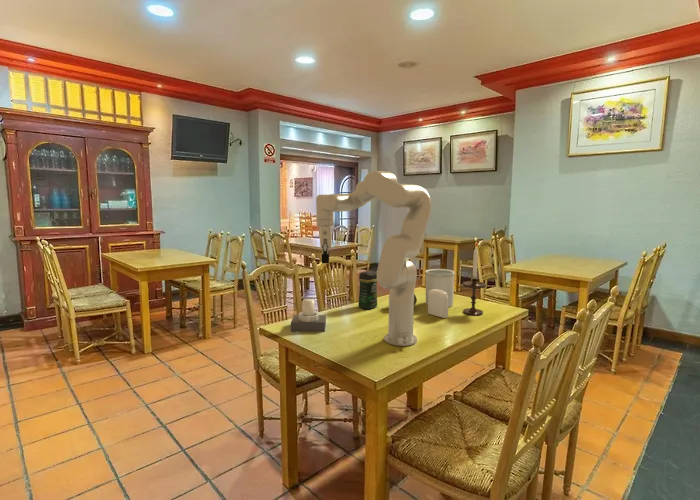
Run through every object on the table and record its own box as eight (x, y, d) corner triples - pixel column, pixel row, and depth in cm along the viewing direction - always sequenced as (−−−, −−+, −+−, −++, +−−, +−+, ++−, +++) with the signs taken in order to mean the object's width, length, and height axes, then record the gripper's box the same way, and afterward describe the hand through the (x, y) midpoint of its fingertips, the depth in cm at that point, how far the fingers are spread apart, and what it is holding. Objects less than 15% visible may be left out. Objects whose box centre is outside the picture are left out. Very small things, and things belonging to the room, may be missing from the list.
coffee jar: (368, 310, 191) (369, 273, 189) (356, 307, 196) (356, 271, 194) (380, 306, 199) (380, 270, 196) (367, 303, 204) (367, 268, 201)
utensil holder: (419, 305, 201) (420, 271, 199) (431, 299, 213) (432, 267, 211) (446, 310, 193) (447, 275, 190) (457, 303, 204) (459, 270, 202)
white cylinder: (314, 320, 163) (313, 301, 162) (302, 320, 163) (301, 301, 162) (315, 316, 168) (314, 298, 167) (303, 316, 168) (303, 298, 167)
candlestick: (488, 312, 188) (492, 240, 184) (478, 317, 181) (482, 242, 176) (467, 308, 196) (470, 238, 191) (457, 312, 188) (460, 240, 183)
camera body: (324, 331, 162) (324, 317, 161) (290, 331, 162) (290, 317, 161) (326, 323, 172) (325, 310, 171) (294, 323, 171) (293, 310, 171)
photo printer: (426, 313, 187) (426, 288, 185) (431, 312, 189) (432, 287, 188) (443, 319, 179) (444, 292, 177) (449, 317, 181) (450, 291, 180)
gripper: (333, 224, 163) (334, 264, 165) (333, 221, 180) (333, 258, 183) (315, 224, 163) (316, 264, 165) (317, 221, 180) (317, 258, 182)
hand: (325, 261), depth 174 cm, fingers open, 9 cm apart
